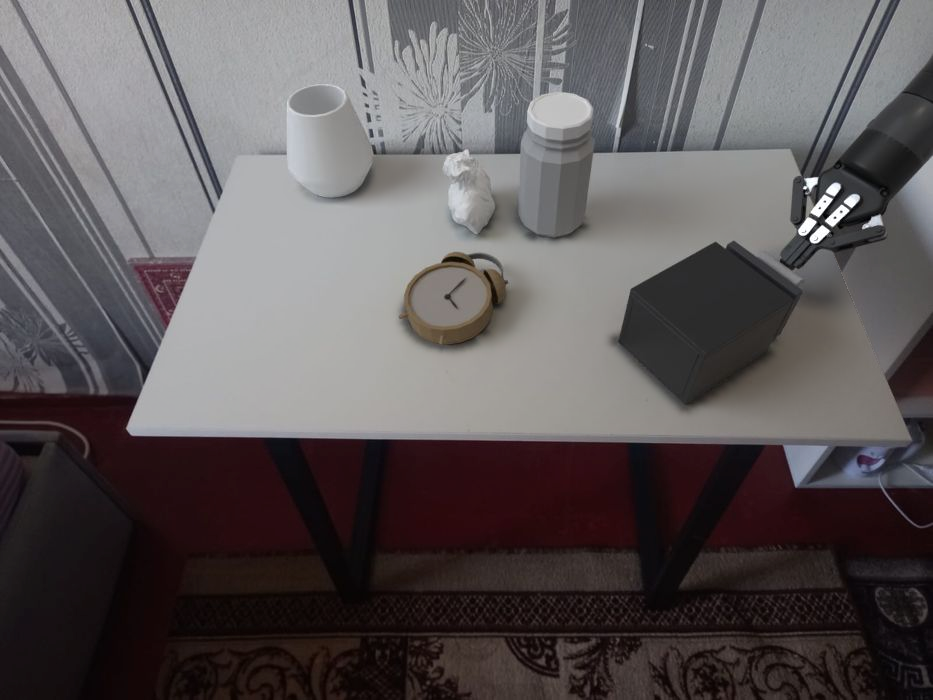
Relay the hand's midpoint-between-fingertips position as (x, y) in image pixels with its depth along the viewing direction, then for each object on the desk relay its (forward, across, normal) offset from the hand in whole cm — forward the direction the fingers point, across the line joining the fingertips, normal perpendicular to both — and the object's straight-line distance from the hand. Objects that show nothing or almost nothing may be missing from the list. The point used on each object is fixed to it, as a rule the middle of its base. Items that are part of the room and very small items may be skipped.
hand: (785, 265), depth 81 cm
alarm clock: (+28, +23, +20) cm, 41 cm away
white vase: (+29, +56, +21) cm, 67 cm away
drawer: (+10, 0, +2) cm, 10 cm away
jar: (+14, +29, +5) cm, 33 cm away
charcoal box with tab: (+14, 0, +6) cm, 15 cm away
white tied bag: (+20, +37, +12) cm, 44 cm away
